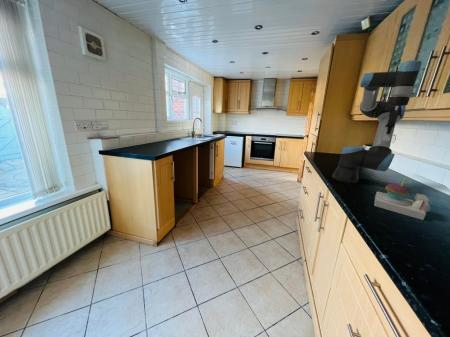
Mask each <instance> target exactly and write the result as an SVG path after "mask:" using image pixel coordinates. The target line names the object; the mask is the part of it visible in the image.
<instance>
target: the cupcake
mask: <svg viewBox="0 0 450 337" xmlns="http://www.w3.org/2000/svg"><path fill="white" fill-rule="evenodd" d="M408 179H409V176H407V177H405V178H404V179H403V181H402V182H401V184H398V183H389V184H386V186H385V190H386V191H387V192H386V193H388V197H389V198H391V199H395V200H400V199H401V198H402V197H403V198H404V197H405V196H408V195H409V193H410V190H409V189H408V188H407V187H405V186H404V185H405V183H406V181H407V180H408Z"/></svg>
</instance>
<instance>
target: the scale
mask: <svg viewBox="0 0 450 337" xmlns="http://www.w3.org/2000/svg"><path fill="white" fill-rule="evenodd" d="M429 201H430V200H429V199H428V197H427V195H426V194H422V193H416V195H415V196H414V199H409V198H404V196H403V197H402V198H401V199H400V200H395V199H391V198H389V197H388V192H381V191H376V193H375V196H374V207H376V208H381V209H384V210H388V211H390V212H391V211H392V212H395V213H398V214H401V215H404V216H408V217H412V218H415V219H418V220H422V221H424V219H425V217H426V215H427V214H426V213H428V212H429V211H430V210H431V205H430V204H429Z"/></svg>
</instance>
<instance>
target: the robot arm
mask: <svg viewBox="0 0 450 337" xmlns="http://www.w3.org/2000/svg"><path fill="white" fill-rule="evenodd" d="M421 67H422V60H416V59H414V60H407V61H403V62H401V63H400V65H399V67H398V69H397V71H383V72H382V71H380V72H379V71H378V72H377V71H376V72H373V71H372V72H365V73H363V75H362V76H361V80H360V83H359V84H360V85H359V87H360V88H363V95H362V100H361V102H360V103H359V109H360V110H359V111H360V113H361V114H362V115H364V116H365V117H367V118H370V119H377V122H379V123H378V126H377V129H376V132H375V136H374V139H373V144H372V146H370V147H369V148H368V149H366V148H365V147H364V146H358V145H355V146H354V145H353V146H352V145H351V146H350V145H349V146H344V147H343V148H342V150H341V152H340V158H339V162H338V165H337V168H336V169H335V170H334V172H333V173H332V178H333V179H335V180H337V181H340V182H341V183H348V184H357V183H358V182H359V169H360V168H363V169H366V170H367V169H368V170H373V171H376V172H387V171H388V169H389V167H390V166H391V164H392V162H393V159H394V157H395V155H396V154H395V153H392V152H393V151H392V149H391V145H392V144H391V143H392V139H393V136H394V132H395V127H396V124H397V123H398V122H399V121H401V120H402V119H403V118H404V116H405V112H406V110H407V109H406V107H407V106H408V105H409V101H410V99H411V98H410V97H411V96H412V93H413V90H414V88H415V87H414V86H415V84H416V81H417V78H418V75H419V74H420V70H421ZM380 88H392V89H390V90H389V92H390V97H389V98H388V100H387V101H386V100H384V101H383V100H380V101H379V100H377V99H378V95H379V91H380V90H381V89H380Z"/></svg>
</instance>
